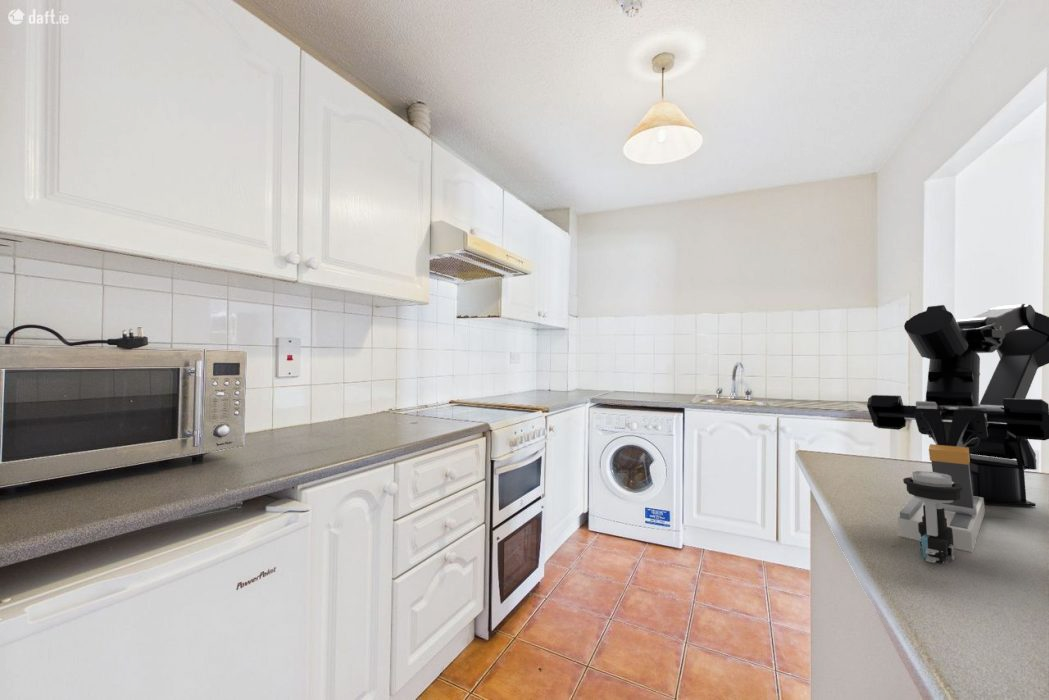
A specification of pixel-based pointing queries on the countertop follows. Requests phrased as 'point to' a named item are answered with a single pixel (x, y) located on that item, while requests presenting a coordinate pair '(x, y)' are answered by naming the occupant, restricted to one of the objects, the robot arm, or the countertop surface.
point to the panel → (961, 524)
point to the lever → (955, 475)
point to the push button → (934, 512)
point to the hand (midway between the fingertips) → (947, 461)
